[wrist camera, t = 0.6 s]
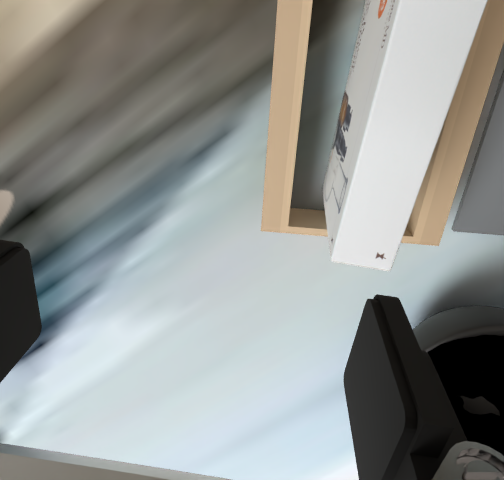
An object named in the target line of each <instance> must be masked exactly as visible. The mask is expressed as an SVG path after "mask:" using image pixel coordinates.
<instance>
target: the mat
mask: <svg viewBox="0 0 504 480" xmlns="http://www.w3.org/2000/svg"><path fill="white" fill-rule="evenodd" d="M452 230H453V231H457V232H469V233H482V234H494V235H504V71H503V74H502V77H501V80H500V83H499V86H498V89H497V93H496V96H495V99H494V102H493V105H492V108H491V111H490V114H489V117H488V120H487V123H486V126H485V129H484V132H483V135H482V138H481V141H480V144H479V147H478V150H477V153H476V156H475V159H474V162H473V165H472V169H471V172H470V175H469V178H468V181H467V184H466V187H465V190H464V193H463V196H462V199H461V202H460V205H459V208H458V211H457V214H456V217H455V220H454V223H453V226H452Z"/></svg>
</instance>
